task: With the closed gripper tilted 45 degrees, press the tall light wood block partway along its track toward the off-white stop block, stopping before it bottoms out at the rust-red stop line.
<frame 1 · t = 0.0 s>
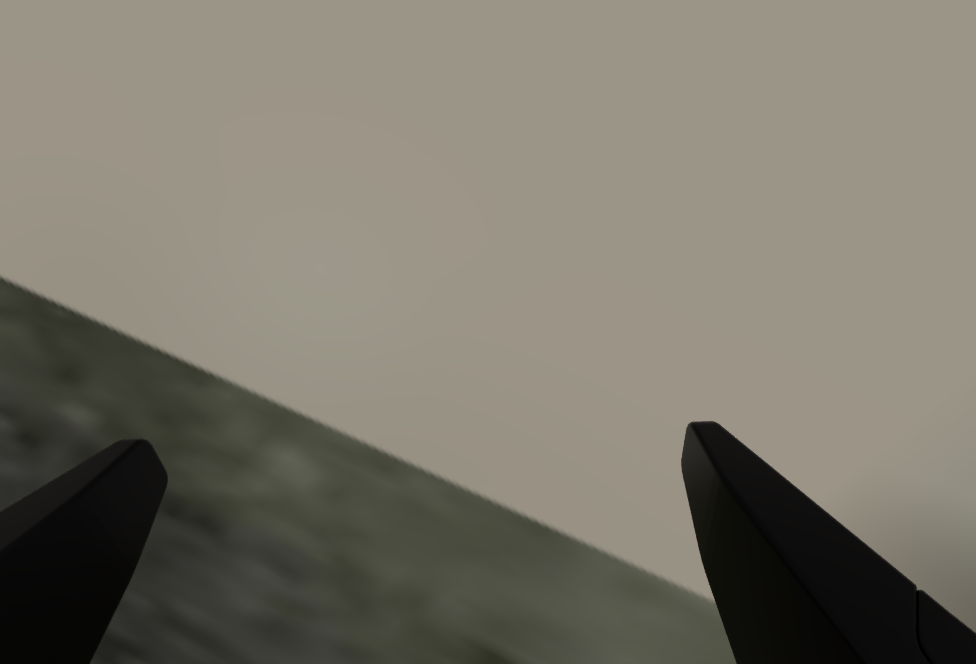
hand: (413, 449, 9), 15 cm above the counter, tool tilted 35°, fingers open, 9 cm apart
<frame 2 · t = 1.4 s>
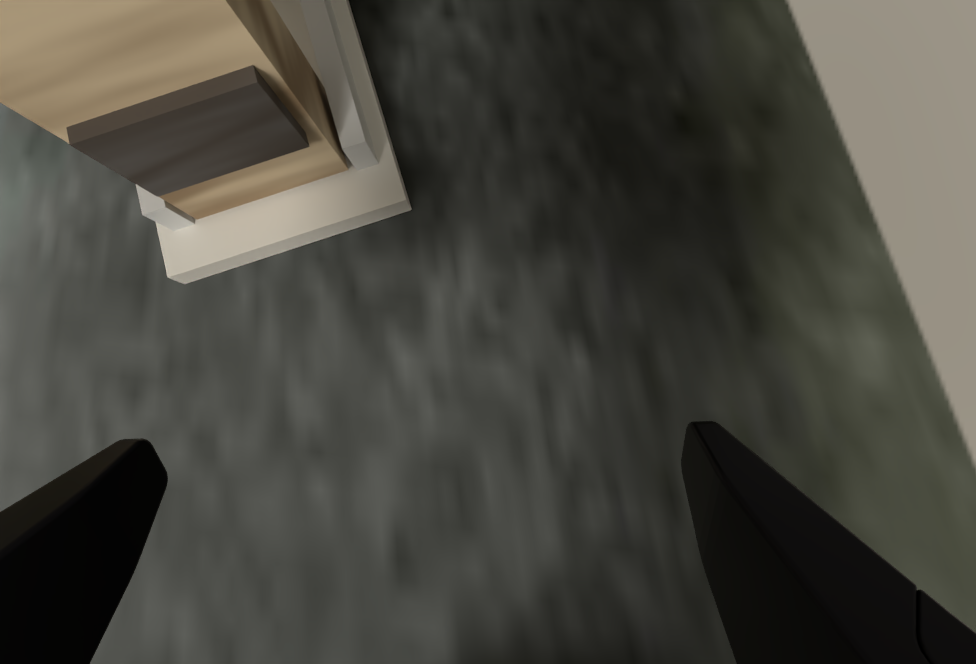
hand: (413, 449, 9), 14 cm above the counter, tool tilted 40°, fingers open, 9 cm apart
key housing: (277, 169, 26), on the counter
light wood block: (178, 77, 18), point 7 cm above the counter, slide at 0.0 cm
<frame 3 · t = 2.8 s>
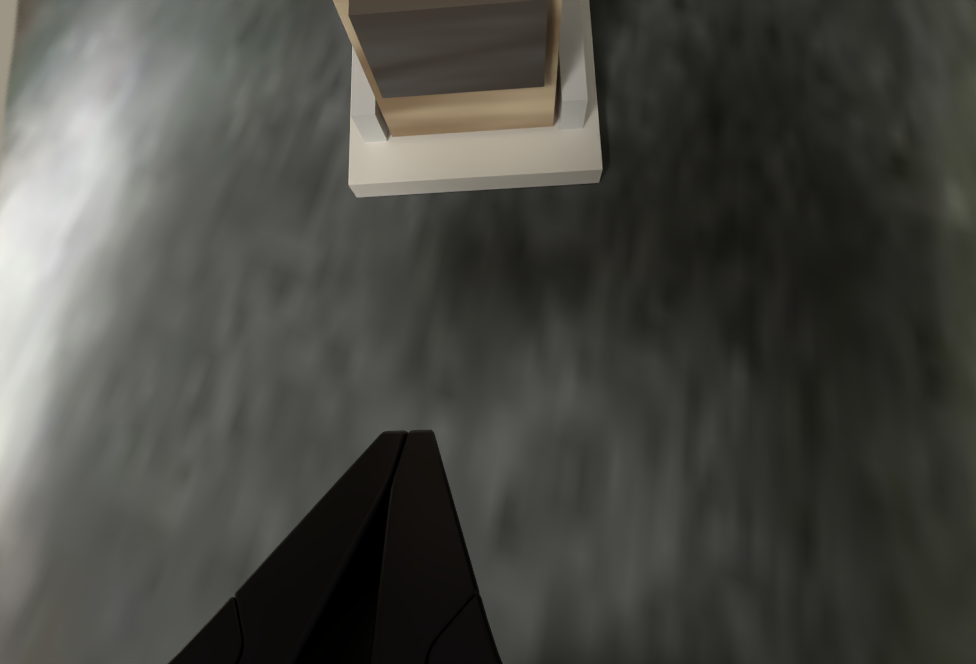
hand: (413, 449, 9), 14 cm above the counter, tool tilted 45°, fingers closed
key housing: (474, 111, 26), on the counter
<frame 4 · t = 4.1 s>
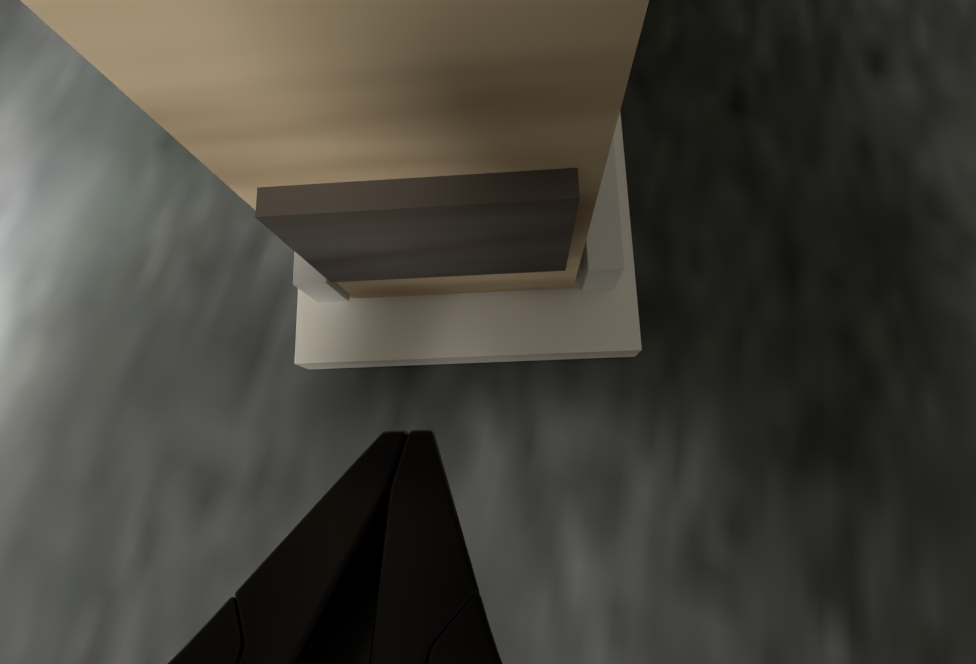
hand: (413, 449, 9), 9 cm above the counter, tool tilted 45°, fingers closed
key housing: (466, 250, 19), on the counter
light wood block: (428, 140, 12), point 8 cm above the counter, slide at 0.0 cm
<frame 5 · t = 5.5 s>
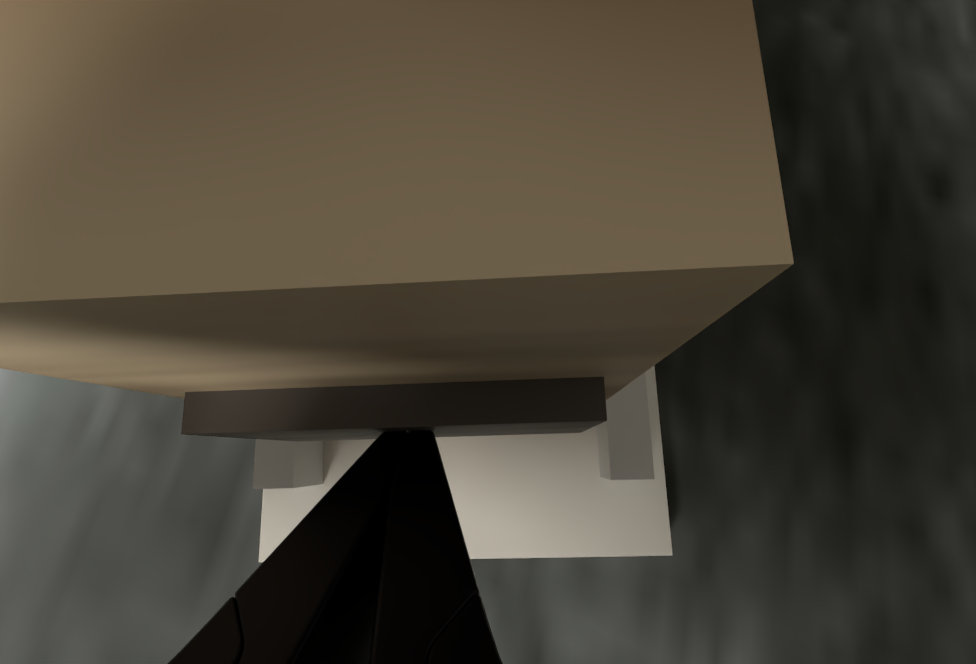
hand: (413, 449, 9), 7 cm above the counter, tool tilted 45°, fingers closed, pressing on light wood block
key housing: (463, 410, 17), on the counter
light wood block: (411, 298, 10), point 8 cm above the counter, slide at 1.6 cm, touching gripper
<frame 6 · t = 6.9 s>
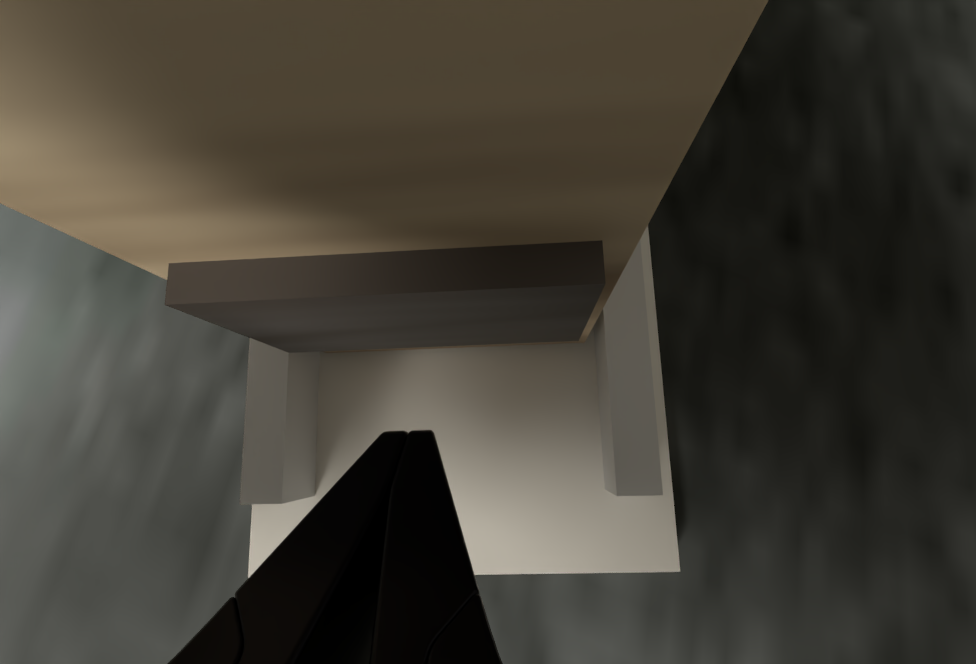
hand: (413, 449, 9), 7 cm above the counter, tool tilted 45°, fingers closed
key housing: (461, 417, 16), on the counter
light wood block: (404, 187, 9), point 7 cm above the counter, slide at 3.8 cm
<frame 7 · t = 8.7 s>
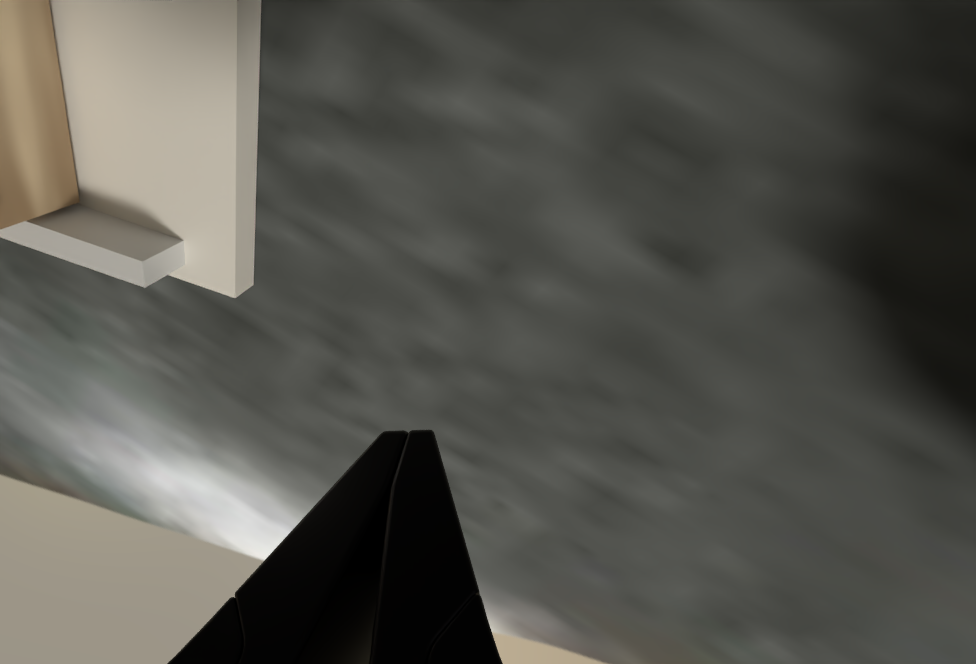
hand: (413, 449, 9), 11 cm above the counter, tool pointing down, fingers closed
key housing: (149, 109, 19), on the counter
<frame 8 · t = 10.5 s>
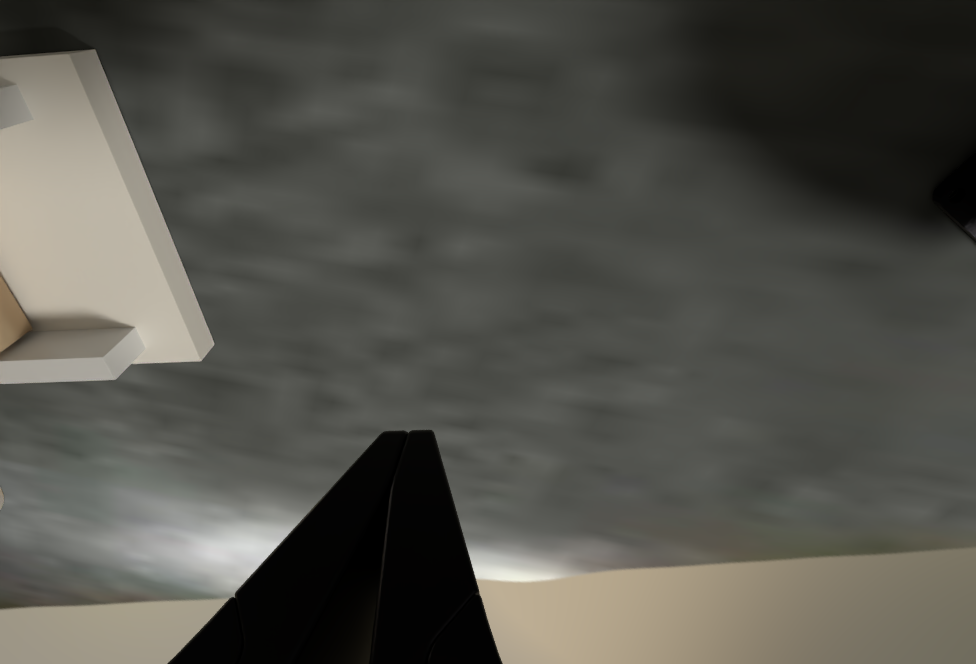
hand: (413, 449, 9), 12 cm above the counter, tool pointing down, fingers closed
key housing: (59, 224, 20), on the counter
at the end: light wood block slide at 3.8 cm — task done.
